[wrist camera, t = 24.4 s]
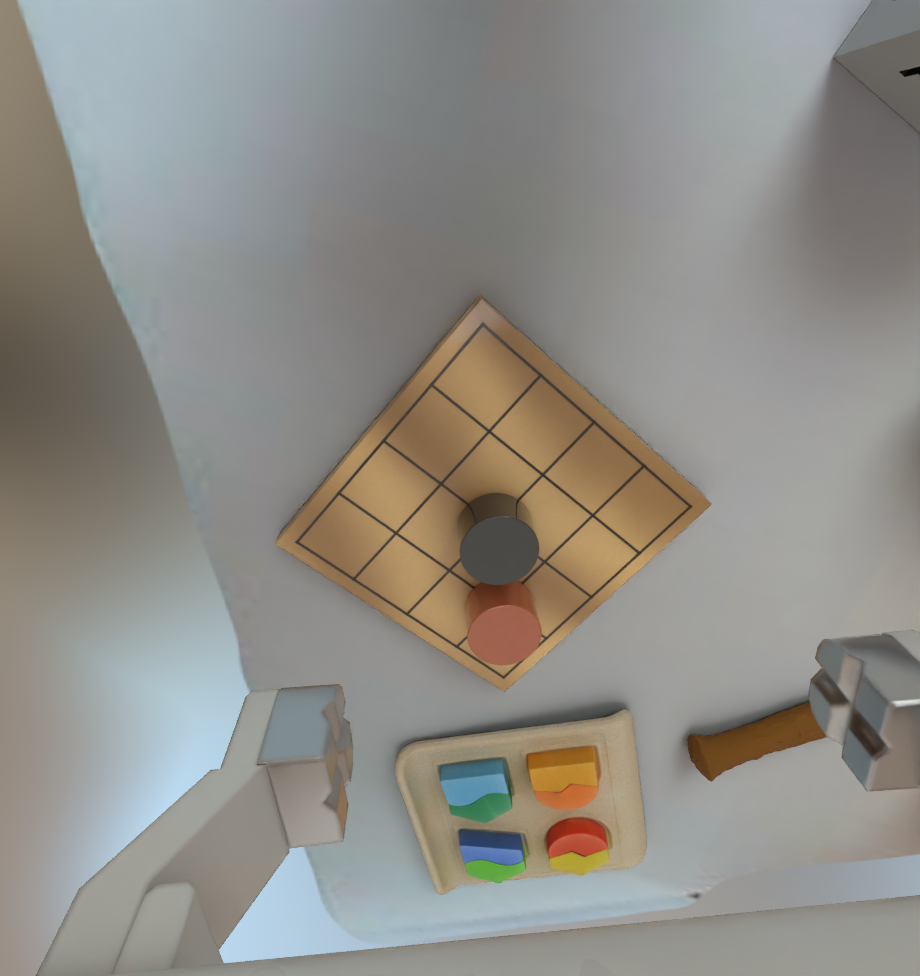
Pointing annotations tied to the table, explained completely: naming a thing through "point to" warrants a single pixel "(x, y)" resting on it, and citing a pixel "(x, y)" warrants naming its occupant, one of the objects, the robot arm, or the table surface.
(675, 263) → the table surface
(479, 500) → the black stone
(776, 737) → the primitive tool
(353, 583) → the go board
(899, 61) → the icon cube
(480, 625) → the clay cylinder
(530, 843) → the puzzle board
